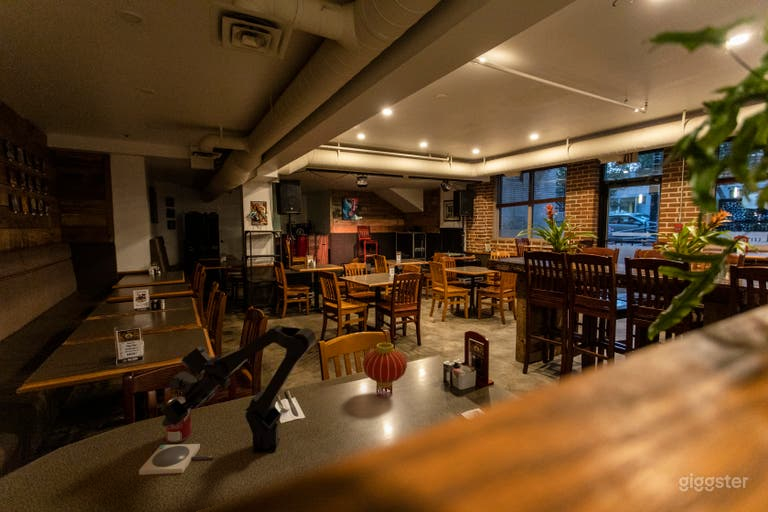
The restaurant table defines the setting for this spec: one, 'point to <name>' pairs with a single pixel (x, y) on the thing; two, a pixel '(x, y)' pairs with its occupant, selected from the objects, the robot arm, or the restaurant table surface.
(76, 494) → the restaurant table surface
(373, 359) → the lantern
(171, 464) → the charging dock
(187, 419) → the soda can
